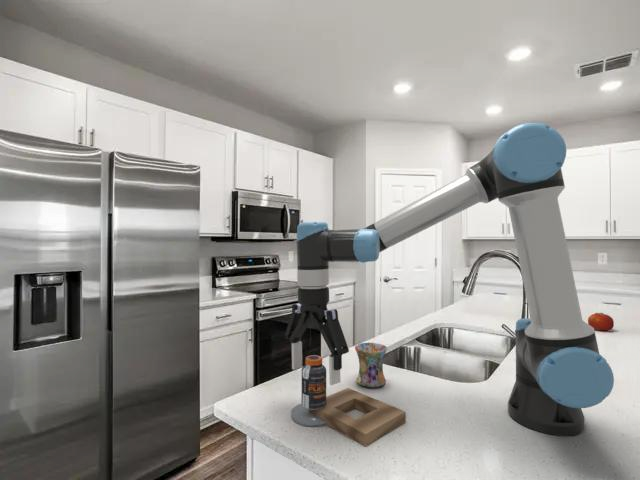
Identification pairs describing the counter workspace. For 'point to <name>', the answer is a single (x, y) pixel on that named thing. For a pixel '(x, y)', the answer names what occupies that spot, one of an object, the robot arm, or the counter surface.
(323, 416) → the socket block
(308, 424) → the coaster
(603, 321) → the tomato
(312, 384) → the pill bottle
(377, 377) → the mug
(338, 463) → the counter surface
